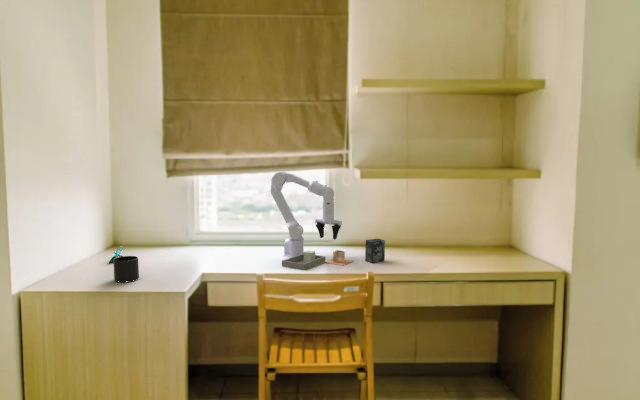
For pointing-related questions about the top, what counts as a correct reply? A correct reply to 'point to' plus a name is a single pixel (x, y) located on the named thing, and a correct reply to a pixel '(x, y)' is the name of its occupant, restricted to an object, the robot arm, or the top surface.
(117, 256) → the stick construction toy
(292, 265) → the tray
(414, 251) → the top surface
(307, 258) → the plain block
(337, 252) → the label block
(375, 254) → the box
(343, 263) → the mat
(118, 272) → the mug
